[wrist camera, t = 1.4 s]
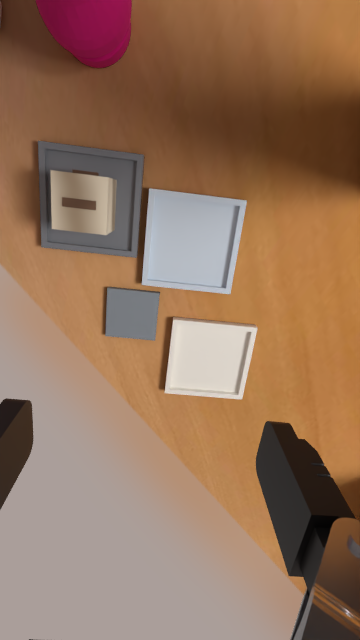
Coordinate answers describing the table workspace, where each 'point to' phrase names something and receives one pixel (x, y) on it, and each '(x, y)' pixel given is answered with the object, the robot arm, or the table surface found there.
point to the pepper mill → (89, 28)
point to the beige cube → (83, 202)
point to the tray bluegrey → (191, 241)
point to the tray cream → (209, 357)
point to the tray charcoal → (107, 165)
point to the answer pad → (131, 313)
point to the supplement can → (0, 12)
